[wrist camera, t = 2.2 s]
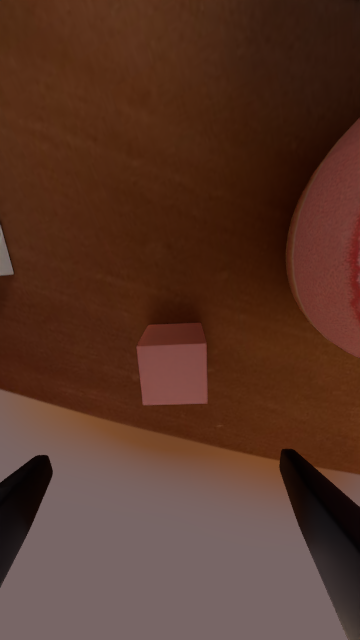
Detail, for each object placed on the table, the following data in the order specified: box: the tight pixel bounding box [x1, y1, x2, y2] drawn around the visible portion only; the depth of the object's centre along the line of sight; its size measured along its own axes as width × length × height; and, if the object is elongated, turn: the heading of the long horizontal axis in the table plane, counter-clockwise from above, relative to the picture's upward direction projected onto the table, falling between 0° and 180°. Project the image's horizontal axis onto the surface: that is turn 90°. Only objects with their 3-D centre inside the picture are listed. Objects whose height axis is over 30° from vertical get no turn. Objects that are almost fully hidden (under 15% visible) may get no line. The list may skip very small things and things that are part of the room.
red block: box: [136, 323, 208, 405], centre depth 15 cm, size 4×4×4 cm
